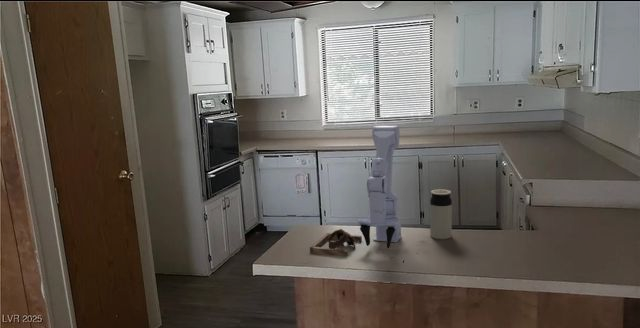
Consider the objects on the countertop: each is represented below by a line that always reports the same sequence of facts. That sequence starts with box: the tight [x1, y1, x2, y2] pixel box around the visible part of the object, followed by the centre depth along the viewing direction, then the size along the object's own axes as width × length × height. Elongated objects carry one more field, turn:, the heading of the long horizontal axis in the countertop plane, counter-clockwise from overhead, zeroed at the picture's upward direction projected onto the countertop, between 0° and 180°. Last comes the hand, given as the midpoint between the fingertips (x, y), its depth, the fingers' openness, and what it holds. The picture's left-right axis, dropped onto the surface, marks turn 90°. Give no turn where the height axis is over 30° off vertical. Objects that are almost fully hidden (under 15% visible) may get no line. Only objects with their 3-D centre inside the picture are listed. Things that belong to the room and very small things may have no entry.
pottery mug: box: [327, 228, 357, 250], centre depth 174 cm, size 12×10×8 cm
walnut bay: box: [309, 232, 363, 257], centre depth 176 cm, size 14×17×2 cm
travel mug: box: [429, 188, 453, 240], centre depth 181 cm, size 8×8×18 cm
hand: (378, 245), depth 170 cm, fingers open, 7 cm apart
